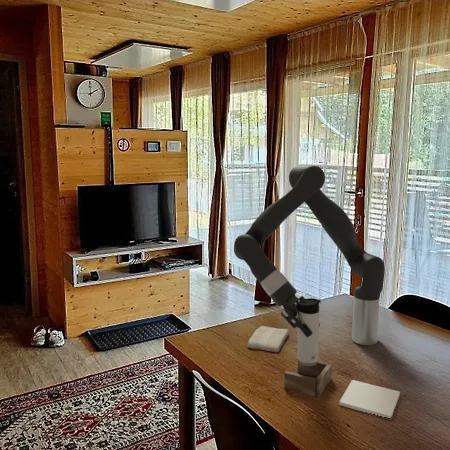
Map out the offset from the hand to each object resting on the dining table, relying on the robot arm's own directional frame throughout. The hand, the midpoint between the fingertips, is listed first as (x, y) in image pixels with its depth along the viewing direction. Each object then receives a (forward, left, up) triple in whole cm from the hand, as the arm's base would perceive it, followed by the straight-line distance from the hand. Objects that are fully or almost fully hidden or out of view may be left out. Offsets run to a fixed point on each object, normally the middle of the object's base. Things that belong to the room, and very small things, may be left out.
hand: (314, 331), depth 137 cm
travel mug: (0, -2, -11) cm, 11 cm away
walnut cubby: (0, -2, -17) cm, 17 cm away
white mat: (0, +17, -17) cm, 25 cm away
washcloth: (-22, -25, -18) cm, 38 cm away
